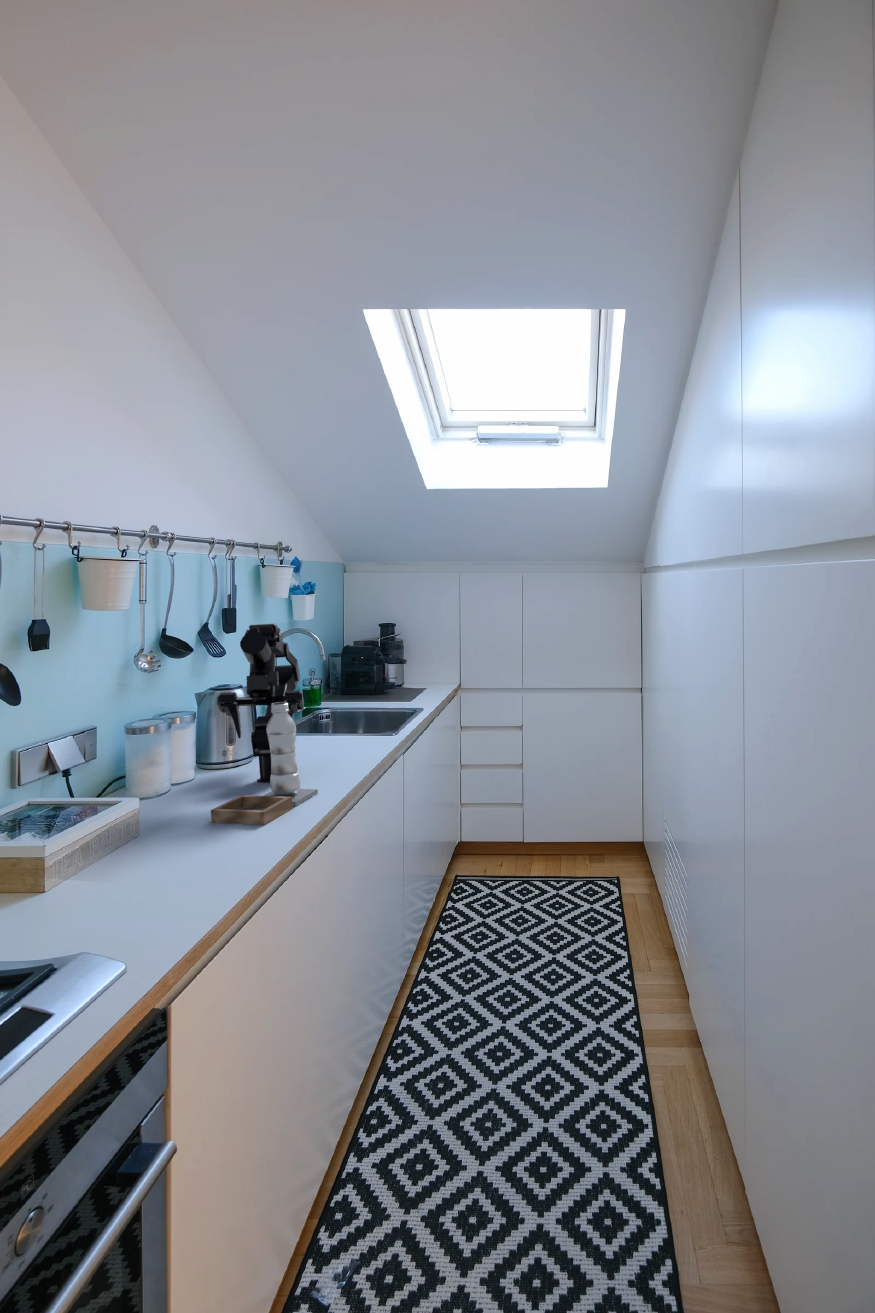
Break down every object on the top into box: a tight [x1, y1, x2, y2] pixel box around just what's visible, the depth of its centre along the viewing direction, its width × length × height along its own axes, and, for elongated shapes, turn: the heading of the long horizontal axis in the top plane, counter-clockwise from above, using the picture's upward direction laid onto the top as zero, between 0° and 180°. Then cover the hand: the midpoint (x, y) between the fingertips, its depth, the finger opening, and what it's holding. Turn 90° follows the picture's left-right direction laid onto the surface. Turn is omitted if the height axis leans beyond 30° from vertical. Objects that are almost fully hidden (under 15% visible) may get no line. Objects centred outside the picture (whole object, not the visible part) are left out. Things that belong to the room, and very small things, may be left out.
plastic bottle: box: [266, 702, 301, 795], centre depth 163 cm, size 6×7×20 cm
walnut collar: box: [210, 794, 294, 826], centre depth 153 cm, size 12×11×2 cm
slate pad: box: [262, 788, 319, 807], centre depth 164 cm, size 10×10×1 cm
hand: (260, 737), depth 168 cm, fingers open, 9 cm apart
